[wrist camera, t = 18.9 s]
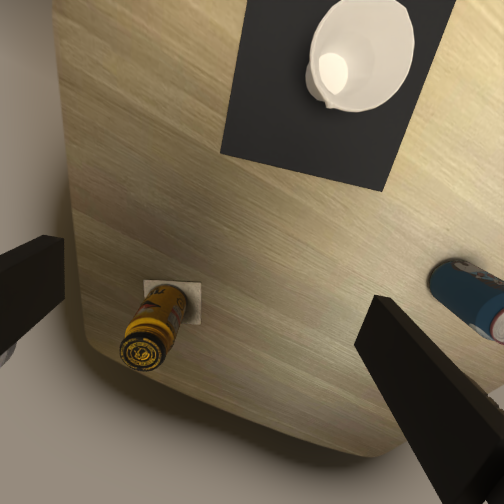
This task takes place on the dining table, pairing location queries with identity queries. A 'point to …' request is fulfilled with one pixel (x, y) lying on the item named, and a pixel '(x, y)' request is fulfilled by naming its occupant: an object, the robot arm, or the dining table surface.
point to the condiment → (159, 322)
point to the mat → (310, 109)
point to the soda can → (471, 297)
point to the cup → (360, 54)
